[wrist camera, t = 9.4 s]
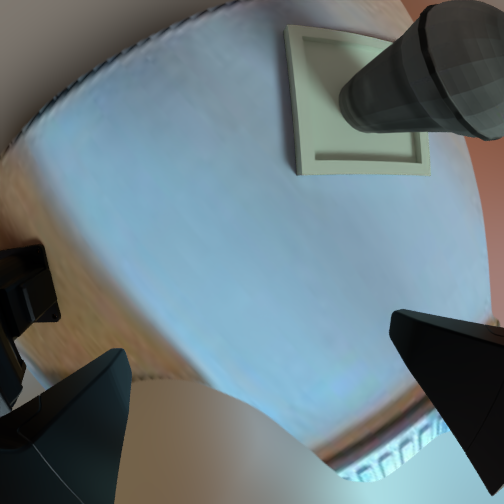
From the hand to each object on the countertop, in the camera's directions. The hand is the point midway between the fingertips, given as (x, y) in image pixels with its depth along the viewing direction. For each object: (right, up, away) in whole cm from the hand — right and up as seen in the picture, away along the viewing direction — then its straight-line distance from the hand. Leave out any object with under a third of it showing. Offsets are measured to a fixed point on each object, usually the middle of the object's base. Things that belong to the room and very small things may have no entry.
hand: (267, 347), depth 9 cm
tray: (+8, +15, +11) cm, 20 cm away
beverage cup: (+8, +14, +11) cm, 20 cm away
